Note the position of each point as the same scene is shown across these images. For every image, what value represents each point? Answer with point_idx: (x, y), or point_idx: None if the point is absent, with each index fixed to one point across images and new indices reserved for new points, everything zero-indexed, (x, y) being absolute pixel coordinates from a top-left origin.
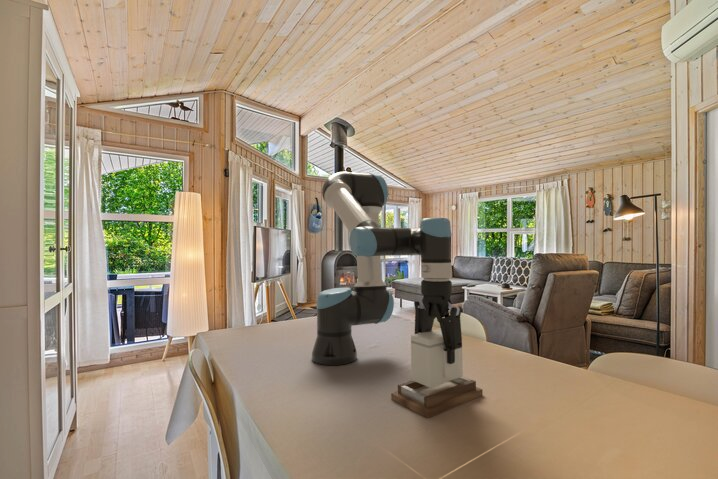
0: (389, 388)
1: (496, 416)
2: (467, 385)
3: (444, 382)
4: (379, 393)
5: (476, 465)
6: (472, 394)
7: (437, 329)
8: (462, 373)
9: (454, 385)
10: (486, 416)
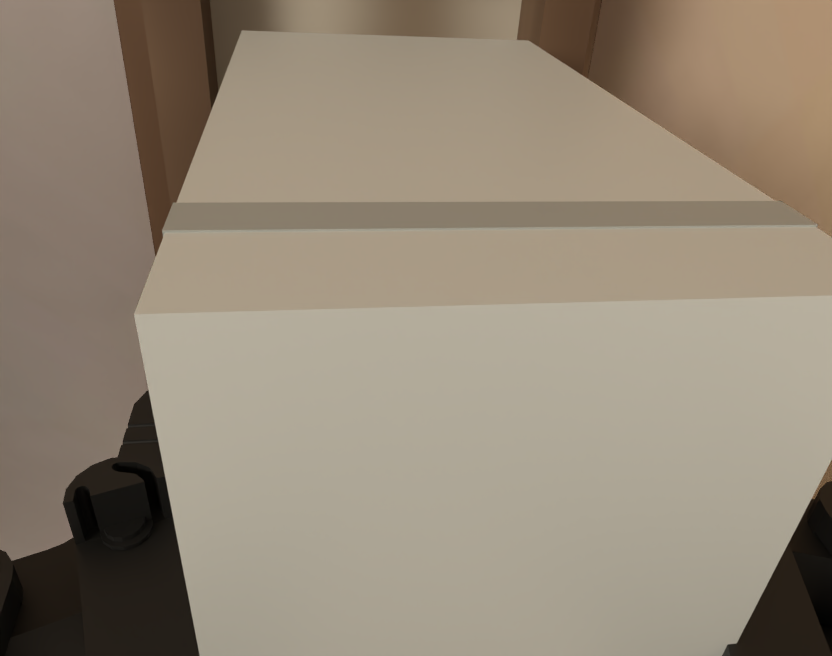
0: (5, 368)
1: (802, 110)
2: (582, 57)
3: (274, 31)
4: (61, 459)
5: (814, 498)
6: (595, 19)
7: (183, 552)
8: (539, 49)
9: (393, 16)
10: (747, 163)
